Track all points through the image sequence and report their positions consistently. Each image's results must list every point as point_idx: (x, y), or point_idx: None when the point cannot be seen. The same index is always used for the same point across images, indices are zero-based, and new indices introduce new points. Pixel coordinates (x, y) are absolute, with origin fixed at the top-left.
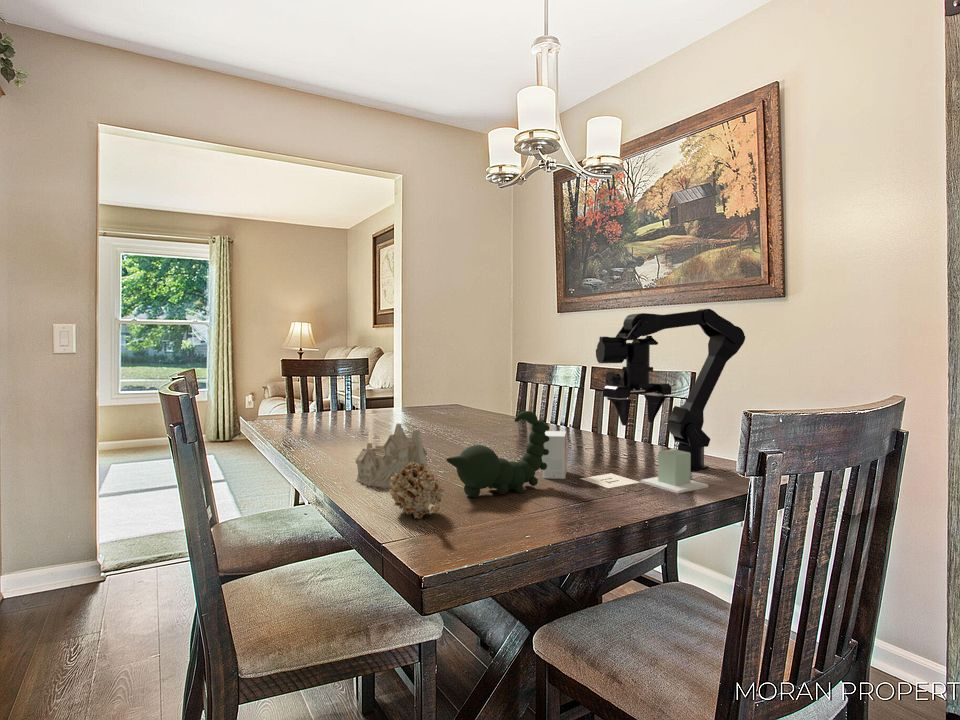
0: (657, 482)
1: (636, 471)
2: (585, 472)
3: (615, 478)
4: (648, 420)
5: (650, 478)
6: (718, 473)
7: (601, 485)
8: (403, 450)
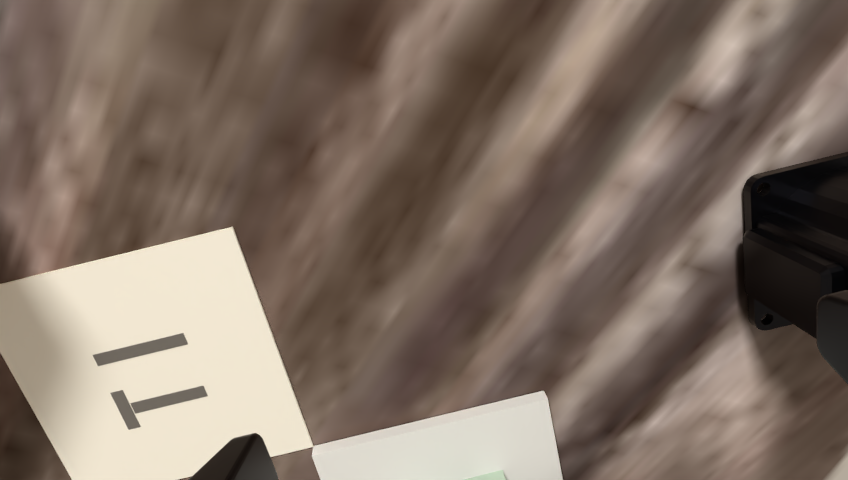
0: None
1: (432, 221)
2: (57, 141)
3: (206, 347)
4: (839, 305)
5: (383, 443)
6: (841, 389)
7: (62, 455)
8: None
